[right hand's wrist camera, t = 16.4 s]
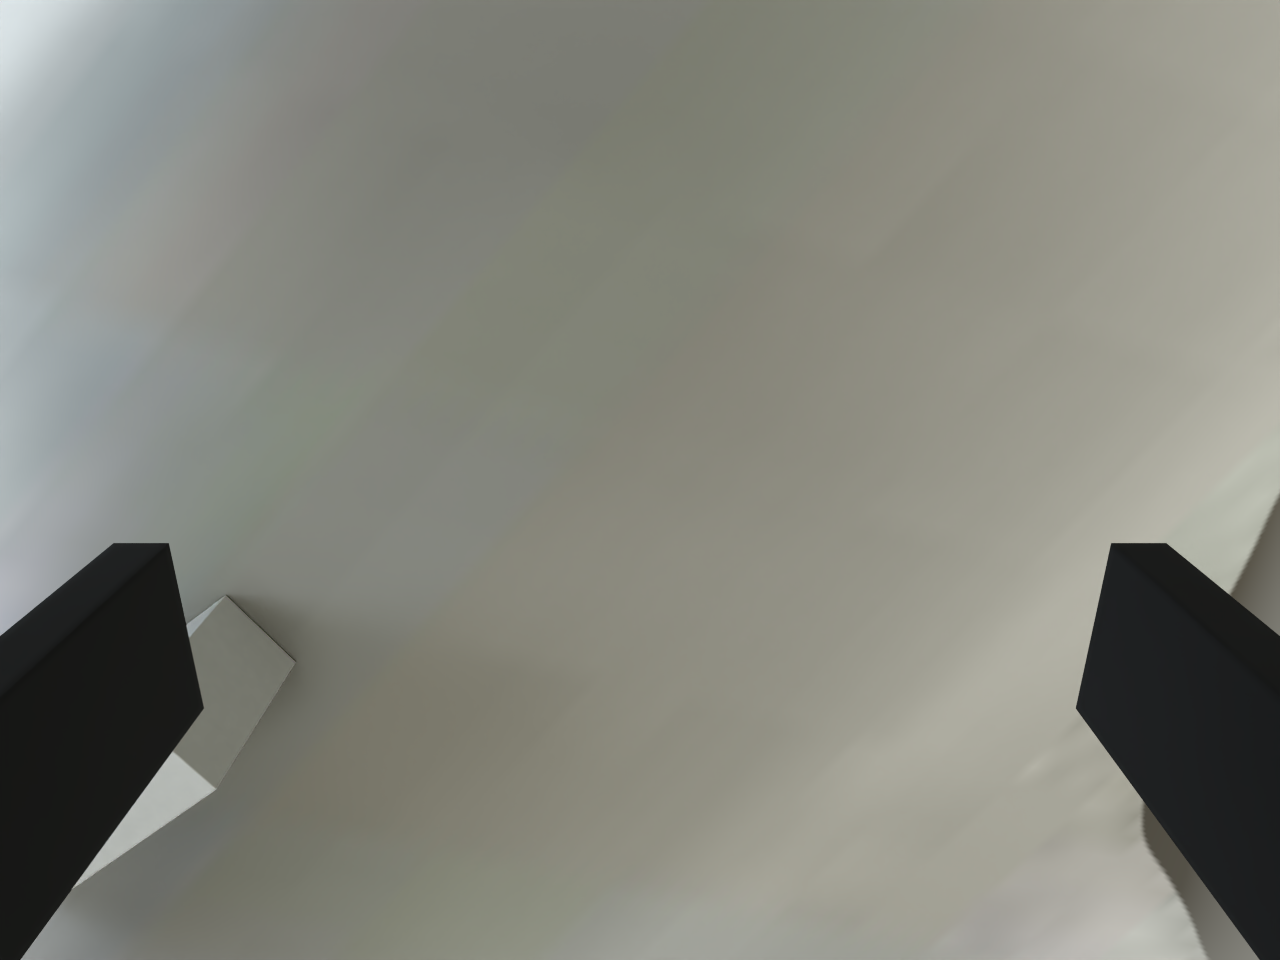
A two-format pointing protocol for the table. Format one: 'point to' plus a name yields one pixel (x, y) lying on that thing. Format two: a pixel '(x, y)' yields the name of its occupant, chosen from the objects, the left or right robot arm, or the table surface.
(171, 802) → the bar
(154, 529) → the table surface
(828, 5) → the table surface
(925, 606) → the table surface
